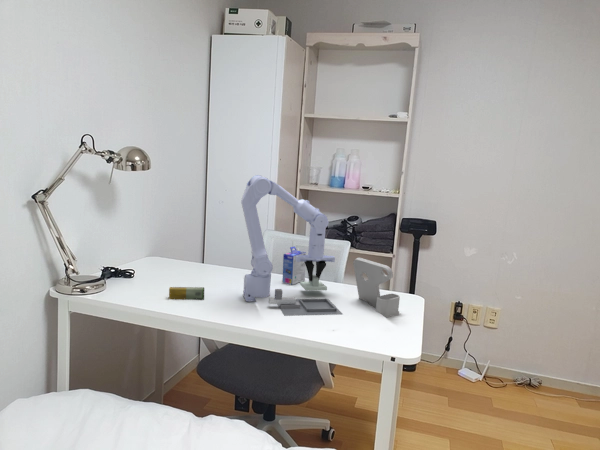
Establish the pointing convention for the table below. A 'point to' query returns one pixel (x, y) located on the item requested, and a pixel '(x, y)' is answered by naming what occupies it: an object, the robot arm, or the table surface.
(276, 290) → the brushed metal bar
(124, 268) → the table surface
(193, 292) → the medication box
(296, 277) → the ink cartridge box
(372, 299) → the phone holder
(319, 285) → the cover
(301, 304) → the panel
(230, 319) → the table surface
